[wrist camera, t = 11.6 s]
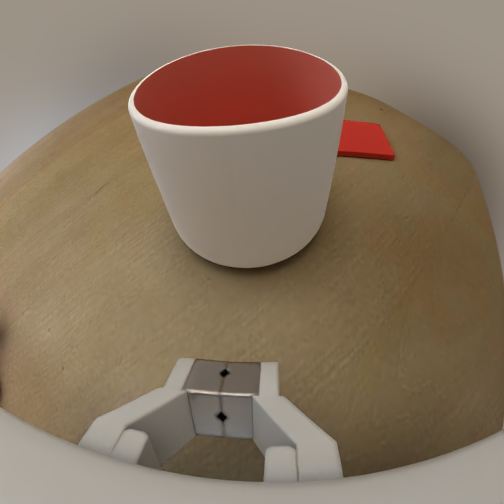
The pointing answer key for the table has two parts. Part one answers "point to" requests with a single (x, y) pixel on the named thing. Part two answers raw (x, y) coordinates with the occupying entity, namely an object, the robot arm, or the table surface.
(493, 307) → the table surface
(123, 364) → the table surface
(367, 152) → the spatula
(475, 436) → the table surface
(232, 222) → the cup
